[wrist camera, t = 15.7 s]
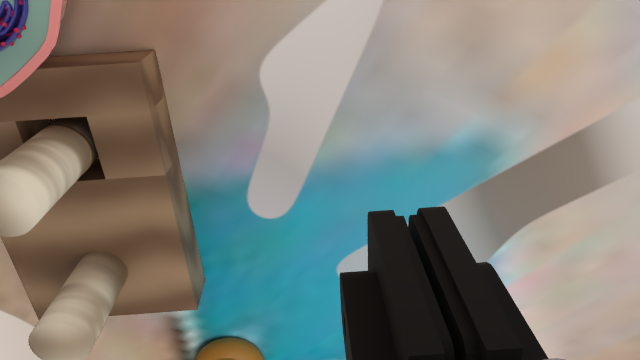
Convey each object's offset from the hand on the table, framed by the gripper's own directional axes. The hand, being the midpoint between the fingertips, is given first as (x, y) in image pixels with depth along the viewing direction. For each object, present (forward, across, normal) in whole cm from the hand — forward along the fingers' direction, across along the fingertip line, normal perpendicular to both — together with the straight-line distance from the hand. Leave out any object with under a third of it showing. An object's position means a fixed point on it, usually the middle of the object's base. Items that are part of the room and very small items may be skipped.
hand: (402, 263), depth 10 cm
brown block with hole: (+27, +20, +11) cm, 35 cm away
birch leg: (+27, +20, +6) cm, 34 cm away
